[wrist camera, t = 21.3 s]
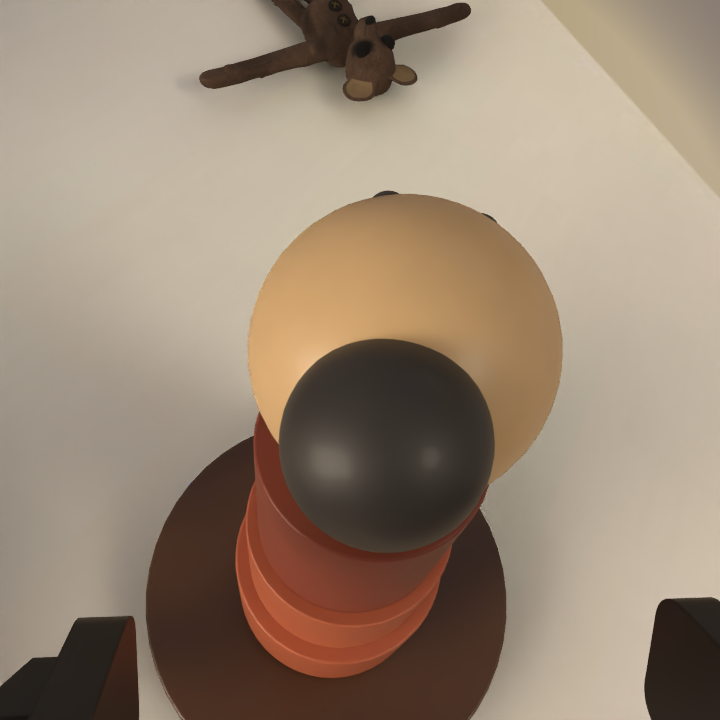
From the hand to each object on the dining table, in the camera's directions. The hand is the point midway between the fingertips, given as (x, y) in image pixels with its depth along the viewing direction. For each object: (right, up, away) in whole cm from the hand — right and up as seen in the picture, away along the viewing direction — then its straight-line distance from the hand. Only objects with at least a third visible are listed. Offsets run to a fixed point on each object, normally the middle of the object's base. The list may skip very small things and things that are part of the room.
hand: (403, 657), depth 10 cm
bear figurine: (-3, +24, +31) cm, 39 cm away
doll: (-2, -3, +12) cm, 12 cm away
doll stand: (-2, -4, +14) cm, 15 cm away
